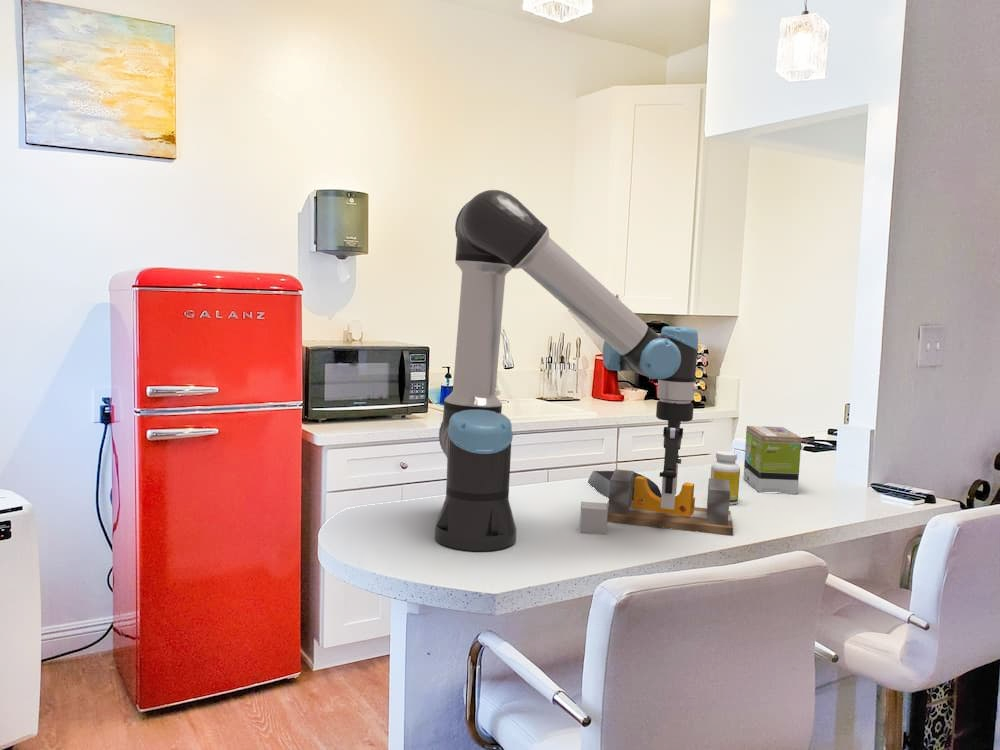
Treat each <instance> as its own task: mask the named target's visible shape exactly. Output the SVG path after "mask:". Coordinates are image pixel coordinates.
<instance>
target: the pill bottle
mask: <svg viewBox="0 0 1000 750" xmlns="http://www.w3.org/2000/svg"><path fill="white" fill-rule="evenodd" d="M715 459H716V461H715V462H713V463H712V464H711V467H710V478H712V479H722V480H728V481H729V487H730V503H729V506H732V505H735V504H737V503H738V501H739V490H740V477H741V467H740V466H739V465H738V464H737V463H736V461H737V460H738V453H736V452H734V451H726V450H725V451H724V450H718V451H716V452H715Z"/></svg>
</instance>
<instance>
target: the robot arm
mask: <svg viewBox="0 0 1000 750" xmlns="http://www.w3.org/2000/svg"><path fill="white" fill-rule="evenodd" d="M454 225H455V227H454V229H455V230H454V231H455V238H456V248H455V261H454V262H455V264H456V266H457V267H459V270H461V281H460V282H461V283H460V293H459V295H460V297H459V307H458V308H459V309H458V320H457V321H458V322H457V333H456V344H455V345H456V347H455V359H454V370H453V371H454V372H453V383H452V384H453V385H452V391H451V392H450V394H449V395H447V396H446V397H445V398H444V400H443V401H444V402H443V403H444V404H443V411H442V412H443V416H442V422H441V423H440V427H439V430H438V440H439V441H438V442H439V444H440V447H441V450H442V452H443V453H444V455H445V457H446V461H447V462H446V463H447V464H446V482H445V483H446V488H445V490H446V491H445V497H444V498H445V499H444V502H443V503H442V507H441V509H440V512H439V515H438V517H437V521H436V523H435V528H434V540H435V541H436V542H437V543H439V544H441V545H442V546H444V547H448V548H452V549H456V550H463V551H471V552H476V551H478V552H486V551H488V552H489V551H498V550H502V549H506V548H510V547H511V546H513V545H515V544H516V542H517V527H516V523H515V519H514V516H513V511H512V507H511V504H510V500H509V498H510V497H509V496H510V495H509V494H510V478H511V477H510V473H511V456H512V441H513V437H514V435H513V430H512V429H513V426H512V421H511V419H510V418H508V416H506V415H505V414H502V407H503V403H502V401H501V400H500V399H499V398H498V397H497V395H496V393H497V392H496V391H497V378H498V377H497V376H498V367H499V366H498V365H499V354H500V343H501V334H502V333H501V331H502V318H503V309H504V307H503V306H504V296H505V295H504V293H505V284H506V276H507V274H508V273H509V272H510V271H512V270H513V269H515V270H516V269H518V270H519V269H521V270H522V271H524V272H525V273H527V275H528V276H530V277H531V278H532V279H533V280H534V281H535V282H537V284H538V285H540V286H541V287H542V288H543V289H545V290H546V291H547V292H548V293H549V294H550V295H552V297H554V299H556V300H557V301H558V302H560V304H562V305H563V306H564V307H565V308H567V310H569V311H570V312H571V313H572V314H574V315H575V316H576V317H577V319H579V320H580V321H582V322H583V324H585V325H586V326H587V327H588V328H590V330H592V331H593V332H594V333H595V334H596V335H598V336H599V337H600V338H601V339H602V340H603V344H602V345H603V346H602V362H603V365H604V367H605V368H606V370H609V371H617V372H631V373H635V374H638V375H641V376H645V377H647V378H649V379H652V380H657V391H656V395H657V396H656V398H657V399H659V400H658V401H657V402H656V412H655V416H656V418H657V419H659V420H661V421H667V426H664V427H663V431H662V432H663V435H662V436H663V448H664V460H663V470H662V471H661V472H659V477H661V479H662V481H661V508H664V509H673V510H674V505H675V496H676V494H677V485H678V471H679V465H681V464H682V458H679V456H680V455H679V450H681V445H682V439H683V435H684V428H683V427H681V424H682V422H685V423H686V422H691V421H693V420H694V419H693V418H694V406H695V405H694V404H693V402H692V401H693V400H694V399H695V392H697V391H698V390H699V388H698V386H696V385H695V384H696V371H697V361H698V352H699V333H698V331H697V329H696V328H694V327H687V326H667V325H666V326H663V327H662V328H661V333H660V334H658V333H657V332H656V331H655V330H654V329H652V328H651V327H650V326H649V325H647V323H646V322H645V321H644V320H643V319H641V318H640V317H639V316H638V315H636V314H635V312H633V310H631V309H630V307H628V306H627V305H626V304H625V303H623V302H622V301H621V300H620V299H619V298H618V297H616V295H614V294H613V293H612V291H610V290H609V289H608V288H607V287H606V286H605V285H603V284H602V283H601V282H600V281H599V280H598V279H597V278H595V277H594V276H593V275H592V274H591V273H590V272H589V271H588V270H586V268H584V267H583V266H582V265H581V264H580V263H579V262H578V261H577V260H576V259H575V258H573V257H572V256H571V255H570V254H569V253H568V252H567V251H566V250H564V249H563V247H561V246H560V245H558V243H556V242H555V240H553V239H552V238H551V237H550V231H549V228H548V227H547V226H546V225H545V224H544V223H543V222H542V221H540V220H539V218H538V217H536V215H534V214H533V213H532V212H531V211H530V210H529V209H528V208H527V207H526V206H525V205H524V204H523V203H522V202H521V201H520V200H519V199H517V198H516V197H515V196H513V195H512V194H511V193H509V192H506V191H504V190H500V189H488V190H485V191H482V192H479V193H477V194H476V195H475V196H473V197H472V198H471V200H469V201H467V202H466V204H464V205H463V206H462V208H461V209H460V211H459V212H458V214H457V217H456V221H455V224H454Z"/></svg>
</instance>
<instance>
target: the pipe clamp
mask: <svg viewBox="0 0 1000 750" xmlns="http://www.w3.org/2000/svg"><path fill="white" fill-rule="evenodd" d="M642 476H643V475H642ZM642 476H638V477H636V478H635V484H634V500H633V508H636V509H642V510H649V511H655V512H661V513H667V514H674V515H680V516H686V517H690V516H691V515H692V514H693V513H694V507H696V506H695V502H696V497H695V496H694V493H695V483H691V482H690V483H689V482H684V483H683V484H682V485H681V490H680V492H679V494H678V495H675V505H674V510H673V509H664V508H661V498H660V497H658V496H656V495H655V494H654V493H653V492H652V491H651V490H650V488H649V486H648V482H647V478H648V477H647V476H645V477H642ZM641 499H642V500H643V502H644V503H643V502H641Z"/></svg>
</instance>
